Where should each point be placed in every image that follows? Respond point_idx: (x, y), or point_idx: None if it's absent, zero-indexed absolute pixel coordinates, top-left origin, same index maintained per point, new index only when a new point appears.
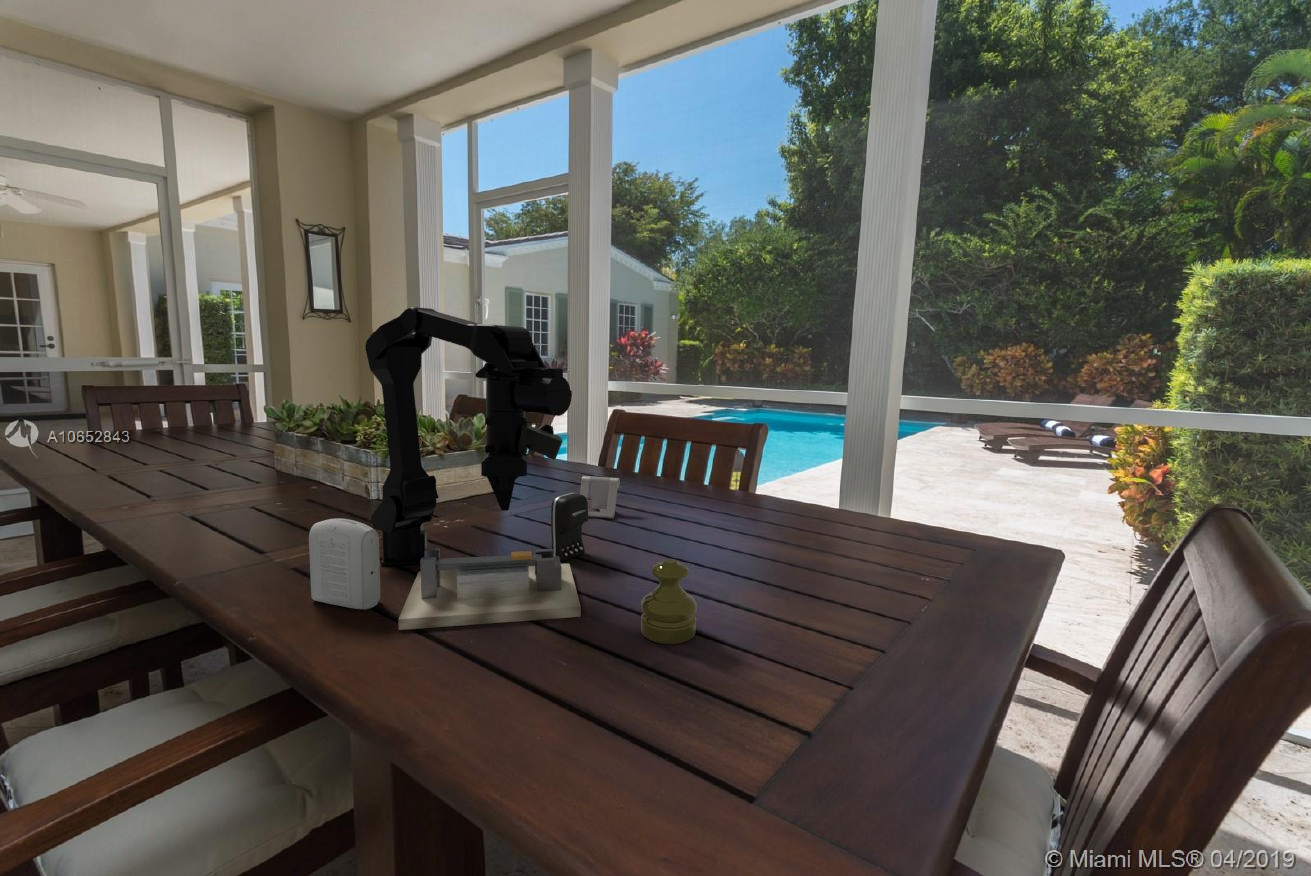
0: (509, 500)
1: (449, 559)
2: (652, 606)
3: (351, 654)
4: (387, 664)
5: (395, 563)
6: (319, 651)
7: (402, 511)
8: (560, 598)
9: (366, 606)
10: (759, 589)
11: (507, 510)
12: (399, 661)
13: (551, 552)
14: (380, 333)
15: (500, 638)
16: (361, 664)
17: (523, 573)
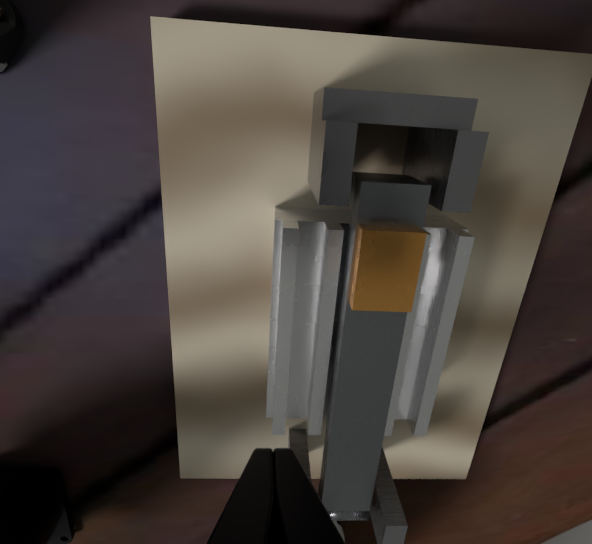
0: (324, 513)
1: (338, 477)
2: None
3: (519, 504)
4: (584, 456)
5: (69, 516)
6: (486, 540)
7: None
8: (504, 116)
9: (336, 522)
10: None
11: (289, 450)
12: (583, 443)
13: (355, 130)
14: None
15: (587, 285)
16: (562, 487)
17: (467, 254)
